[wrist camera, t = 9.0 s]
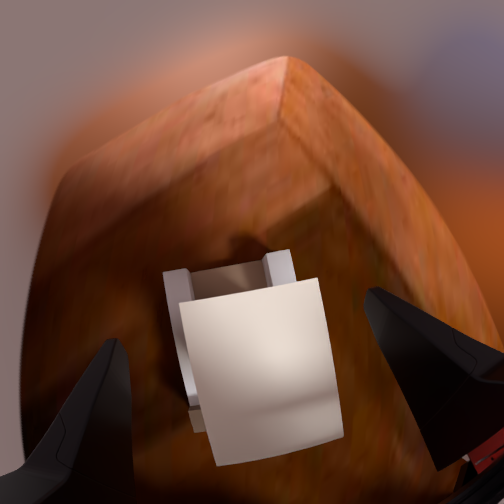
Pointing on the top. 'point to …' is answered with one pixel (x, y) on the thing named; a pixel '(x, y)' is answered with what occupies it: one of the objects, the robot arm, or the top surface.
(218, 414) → the white rectangular block
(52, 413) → the top surface
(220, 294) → the sill track
